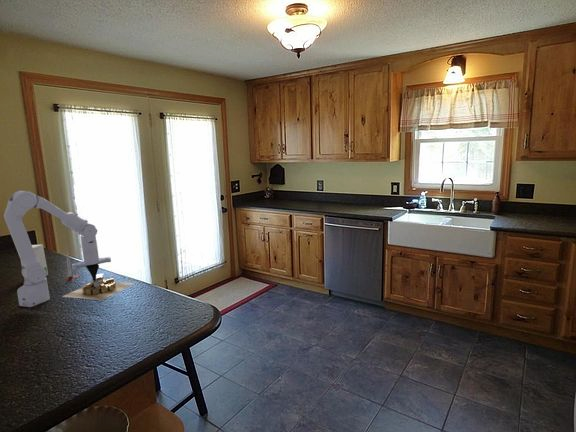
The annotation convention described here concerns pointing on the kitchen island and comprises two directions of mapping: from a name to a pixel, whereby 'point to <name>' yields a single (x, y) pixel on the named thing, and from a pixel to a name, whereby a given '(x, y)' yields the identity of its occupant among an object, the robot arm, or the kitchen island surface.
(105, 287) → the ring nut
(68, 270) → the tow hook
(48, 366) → the kitchen island surface
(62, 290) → the kitchen island surface
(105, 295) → the spindle board
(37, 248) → the skincare box
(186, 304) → the kitchen island surface
